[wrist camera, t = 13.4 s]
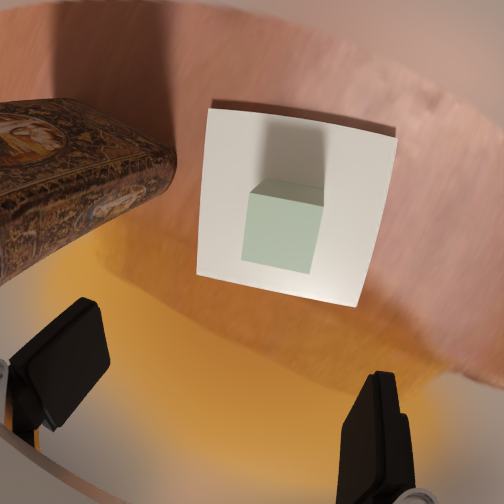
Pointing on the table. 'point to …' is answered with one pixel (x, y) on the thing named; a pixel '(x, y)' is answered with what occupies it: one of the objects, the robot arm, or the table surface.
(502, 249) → the table surface
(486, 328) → the table surface
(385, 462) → the robot arm
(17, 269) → the book
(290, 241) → the block
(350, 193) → the pale board
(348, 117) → the table surface
